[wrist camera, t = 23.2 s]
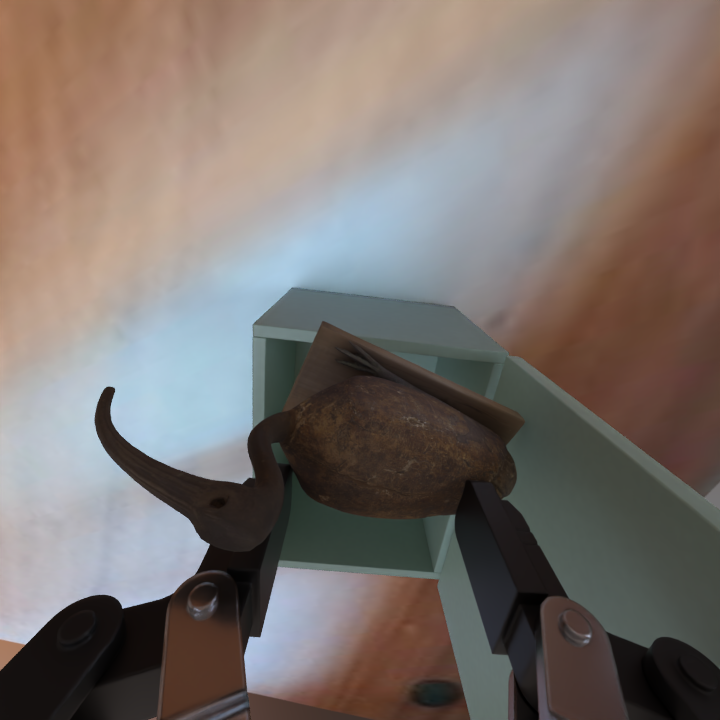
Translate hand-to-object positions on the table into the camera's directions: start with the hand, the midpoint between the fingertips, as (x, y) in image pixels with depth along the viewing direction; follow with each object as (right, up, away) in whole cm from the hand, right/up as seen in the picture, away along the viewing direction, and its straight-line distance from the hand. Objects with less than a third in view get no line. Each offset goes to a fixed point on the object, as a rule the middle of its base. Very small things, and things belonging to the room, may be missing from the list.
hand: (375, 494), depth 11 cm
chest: (0, +1, +21) cm, 21 cm away
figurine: (-1, +3, +4) cm, 5 cm away
